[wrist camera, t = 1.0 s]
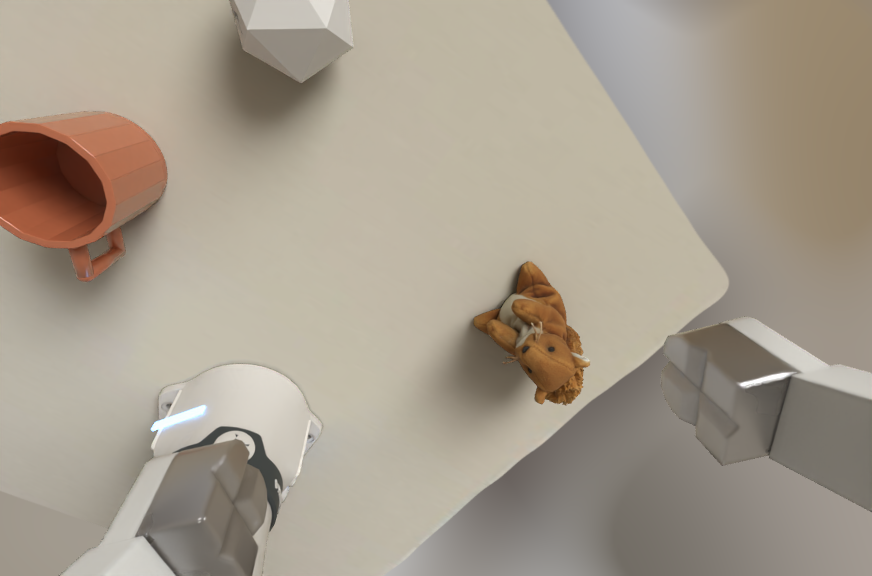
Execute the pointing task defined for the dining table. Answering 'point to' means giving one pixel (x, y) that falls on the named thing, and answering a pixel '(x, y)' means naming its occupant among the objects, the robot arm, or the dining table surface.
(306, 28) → the die
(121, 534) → the robot arm
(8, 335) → the dining table surface
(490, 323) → the stuffed squirrel
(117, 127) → the mug
